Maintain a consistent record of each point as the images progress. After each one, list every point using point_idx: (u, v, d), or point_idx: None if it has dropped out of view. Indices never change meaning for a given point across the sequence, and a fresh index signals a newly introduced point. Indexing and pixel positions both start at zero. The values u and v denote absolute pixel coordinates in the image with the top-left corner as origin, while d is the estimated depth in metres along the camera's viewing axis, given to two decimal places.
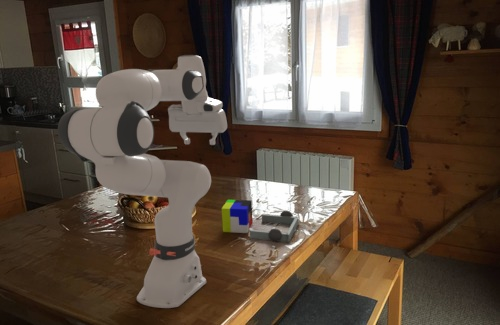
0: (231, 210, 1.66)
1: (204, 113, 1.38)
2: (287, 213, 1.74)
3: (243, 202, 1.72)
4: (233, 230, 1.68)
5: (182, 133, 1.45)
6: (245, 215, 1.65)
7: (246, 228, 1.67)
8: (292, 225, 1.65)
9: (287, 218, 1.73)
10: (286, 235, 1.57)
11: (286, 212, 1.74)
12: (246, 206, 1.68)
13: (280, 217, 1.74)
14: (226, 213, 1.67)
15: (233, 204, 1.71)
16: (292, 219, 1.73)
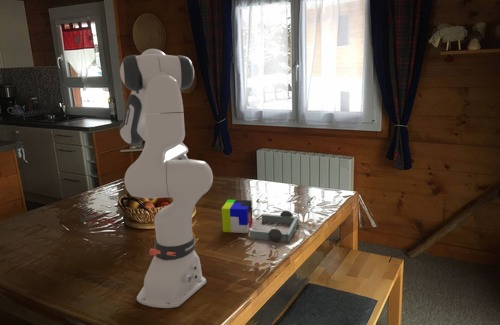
0: (231, 210, 1.66)
1: None
2: (287, 213, 1.74)
3: (243, 202, 1.72)
4: (233, 230, 1.68)
5: None
6: (245, 215, 1.65)
7: (246, 228, 1.67)
8: (292, 225, 1.65)
9: (287, 218, 1.73)
10: (286, 235, 1.57)
11: (286, 212, 1.74)
12: (246, 206, 1.68)
13: (280, 217, 1.74)
14: (226, 213, 1.67)
15: (233, 204, 1.71)
16: (292, 219, 1.73)
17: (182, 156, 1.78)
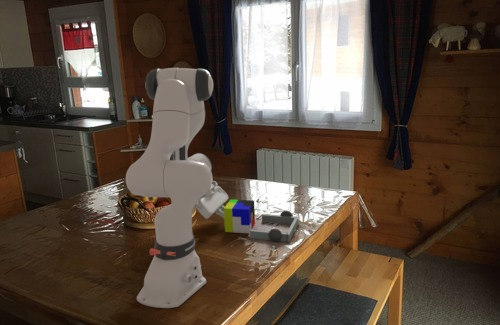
0: (233, 210, 1.66)
1: (214, 188, 1.76)
2: (287, 213, 1.74)
3: (246, 202, 1.72)
4: (235, 230, 1.68)
5: (219, 209, 1.71)
6: (247, 215, 1.65)
7: (248, 228, 1.66)
8: (292, 225, 1.65)
9: (287, 218, 1.73)
10: (286, 235, 1.57)
11: (286, 212, 1.74)
12: (248, 206, 1.67)
13: (280, 217, 1.74)
14: (228, 213, 1.66)
15: (236, 204, 1.70)
16: (292, 219, 1.73)
17: (220, 207, 1.74)
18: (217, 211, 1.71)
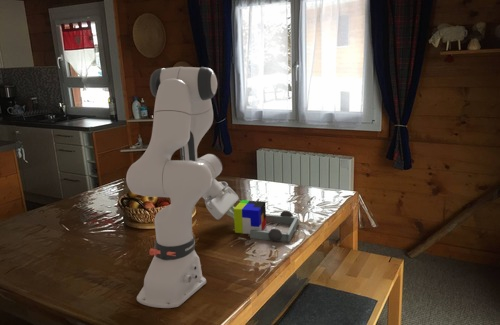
0: (243, 211, 1.64)
1: (225, 189, 1.75)
2: (287, 213, 1.74)
3: (256, 203, 1.70)
4: (245, 231, 1.66)
5: (230, 210, 1.70)
6: (257, 216, 1.63)
7: None
8: (292, 225, 1.65)
9: (287, 218, 1.73)
10: (286, 235, 1.57)
11: (286, 212, 1.74)
12: (258, 207, 1.65)
13: (280, 217, 1.74)
14: (238, 214, 1.65)
15: (246, 204, 1.69)
16: (292, 219, 1.73)
17: (230, 208, 1.73)
18: (228, 212, 1.70)
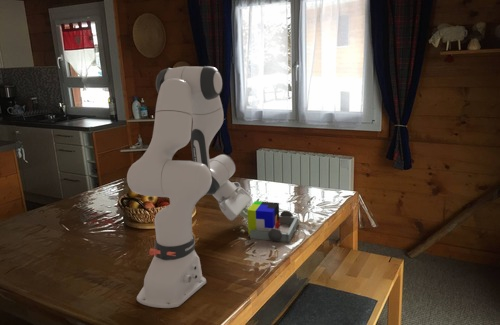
0: (257, 212, 1.62)
1: (238, 189, 1.73)
2: (287, 213, 1.74)
3: (270, 204, 1.68)
4: None
5: (243, 210, 1.68)
6: (271, 218, 1.61)
7: None
8: (292, 225, 1.65)
9: (287, 218, 1.73)
10: (286, 235, 1.57)
11: (286, 212, 1.74)
12: (272, 209, 1.63)
13: (280, 217, 1.74)
14: (252, 215, 1.63)
15: (260, 206, 1.67)
16: (292, 219, 1.73)
17: (244, 209, 1.71)
18: (241, 213, 1.68)
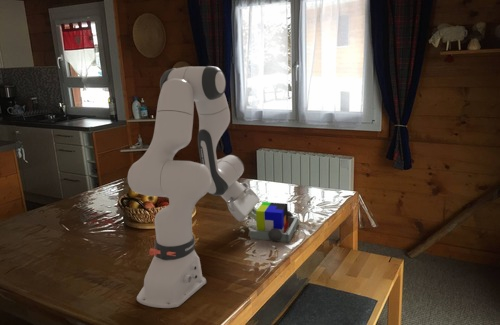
0: (266, 213, 1.61)
1: (246, 190, 1.72)
2: None
3: (279, 205, 1.67)
4: None
5: (252, 211, 1.67)
6: (280, 219, 1.60)
7: (281, 232, 1.62)
8: (292, 225, 1.65)
9: None
10: (286, 235, 1.57)
11: None
12: (281, 209, 1.62)
13: None
14: (260, 216, 1.62)
15: (268, 206, 1.66)
16: (292, 219, 1.73)
17: (252, 210, 1.70)
18: (250, 214, 1.67)
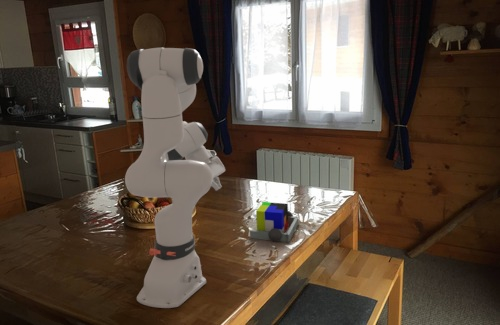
0: (266, 213, 1.61)
1: (212, 158, 1.70)
2: None
3: (279, 205, 1.67)
4: None
5: (213, 180, 1.65)
6: (280, 219, 1.60)
7: (281, 232, 1.62)
8: (292, 225, 1.65)
9: None
10: (286, 235, 1.57)
11: None
12: (282, 210, 1.62)
13: None
14: (261, 216, 1.62)
15: (269, 206, 1.66)
16: (292, 219, 1.73)
17: (214, 178, 1.68)
18: None
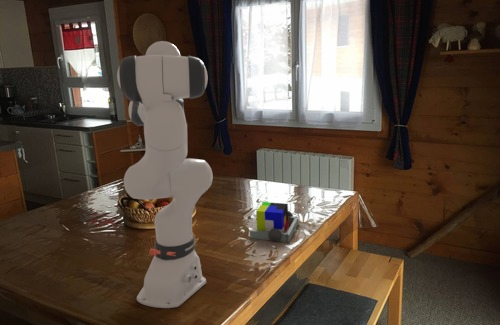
0: (266, 213, 1.61)
1: None
2: None
3: (279, 205, 1.67)
4: None
5: None
6: (280, 219, 1.60)
7: (281, 232, 1.62)
8: (292, 225, 1.65)
9: None
10: (286, 235, 1.57)
11: None
12: (282, 210, 1.62)
13: None
14: (261, 216, 1.62)
15: (269, 206, 1.66)
16: (292, 219, 1.73)
17: None
18: None
